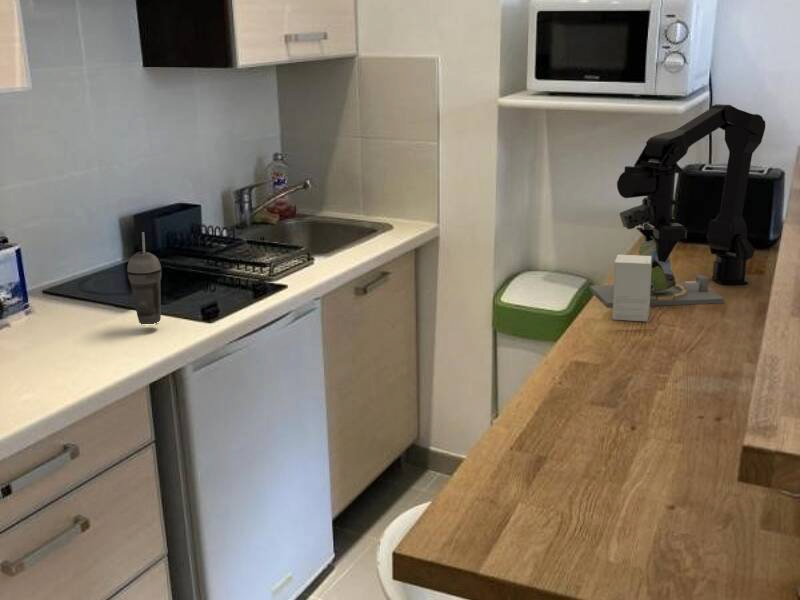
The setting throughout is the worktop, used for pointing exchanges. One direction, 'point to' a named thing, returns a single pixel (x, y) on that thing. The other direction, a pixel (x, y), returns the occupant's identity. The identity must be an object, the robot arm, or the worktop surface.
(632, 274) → the supplement box
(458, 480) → the worktop surface
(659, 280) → the beverage can
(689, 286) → the tan curved band
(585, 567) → the worktop surface
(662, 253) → the robot arm
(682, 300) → the base
